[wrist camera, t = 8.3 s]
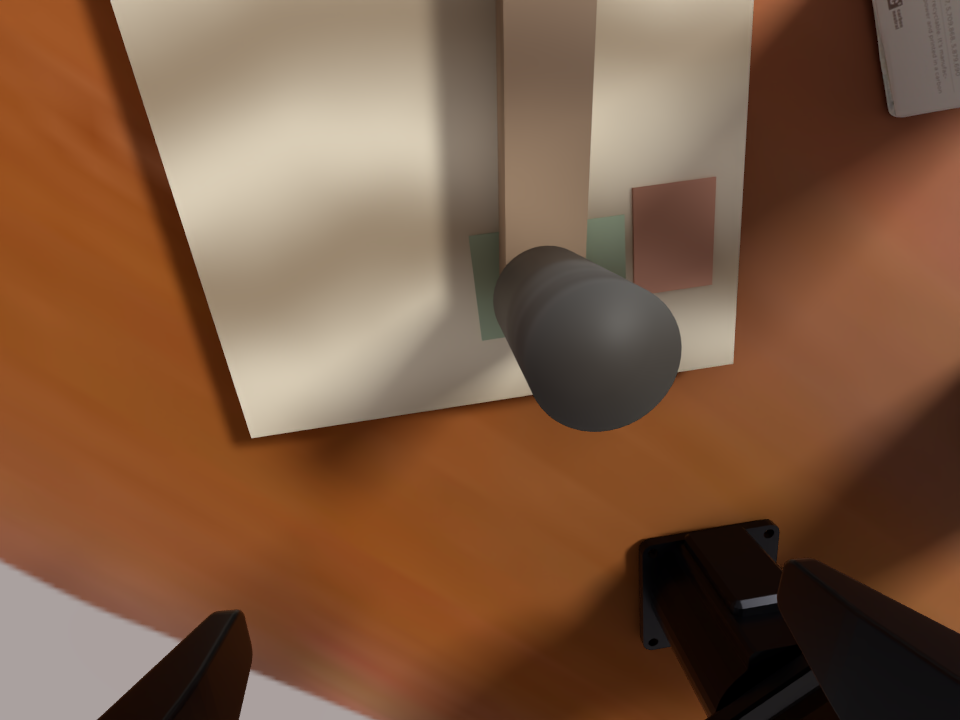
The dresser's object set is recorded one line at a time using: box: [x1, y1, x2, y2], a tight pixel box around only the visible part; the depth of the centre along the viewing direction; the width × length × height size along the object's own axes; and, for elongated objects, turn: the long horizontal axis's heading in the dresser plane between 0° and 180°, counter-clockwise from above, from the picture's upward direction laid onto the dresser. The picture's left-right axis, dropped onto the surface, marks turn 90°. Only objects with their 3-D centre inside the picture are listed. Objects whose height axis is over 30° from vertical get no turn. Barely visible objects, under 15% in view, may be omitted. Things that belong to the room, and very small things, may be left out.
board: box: [110, 0, 754, 438], centre depth 15 cm, size 23×18×2 cm
